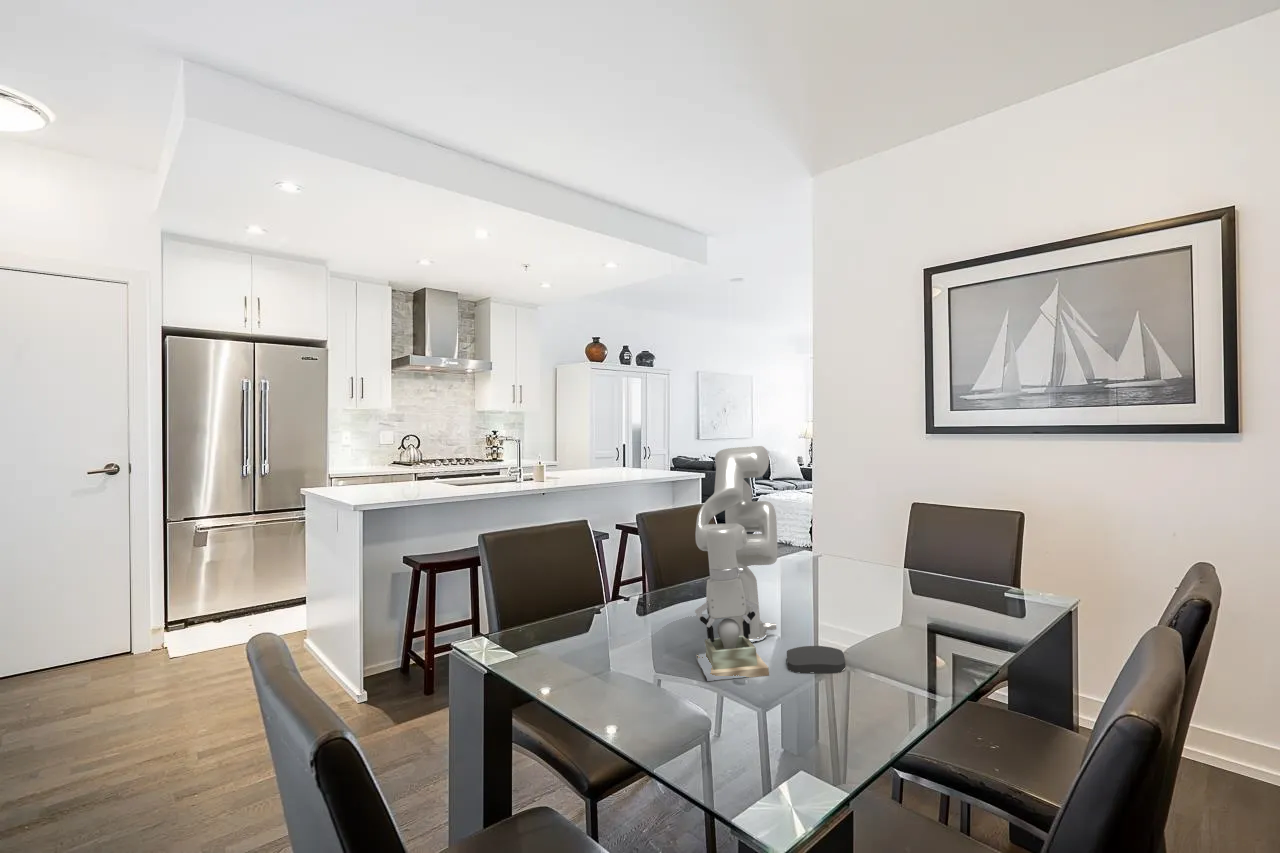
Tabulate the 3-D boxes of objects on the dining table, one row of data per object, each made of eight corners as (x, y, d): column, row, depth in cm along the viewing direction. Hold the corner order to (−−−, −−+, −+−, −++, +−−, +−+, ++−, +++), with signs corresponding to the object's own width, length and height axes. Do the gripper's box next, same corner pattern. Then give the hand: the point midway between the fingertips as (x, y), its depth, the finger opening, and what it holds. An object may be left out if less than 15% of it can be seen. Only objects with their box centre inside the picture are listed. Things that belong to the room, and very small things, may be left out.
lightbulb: (724, 665, 162) (721, 622, 163) (715, 658, 168) (713, 617, 168) (745, 662, 164) (743, 619, 164) (736, 655, 169) (733, 614, 170)
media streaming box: (848, 674, 155) (846, 662, 156) (788, 674, 158) (787, 663, 158) (841, 655, 170) (840, 644, 170) (786, 656, 173) (785, 645, 173)
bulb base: (753, 655, 174) (751, 632, 174) (769, 675, 158) (766, 649, 158) (697, 661, 173) (695, 637, 173) (707, 681, 157) (705, 655, 157)
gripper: (751, 568, 171) (757, 632, 170) (689, 574, 170) (694, 638, 169) (758, 573, 164) (764, 639, 163) (694, 579, 162) (699, 646, 161)
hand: (729, 638), depth 166 cm, fingers open, 9 cm apart
